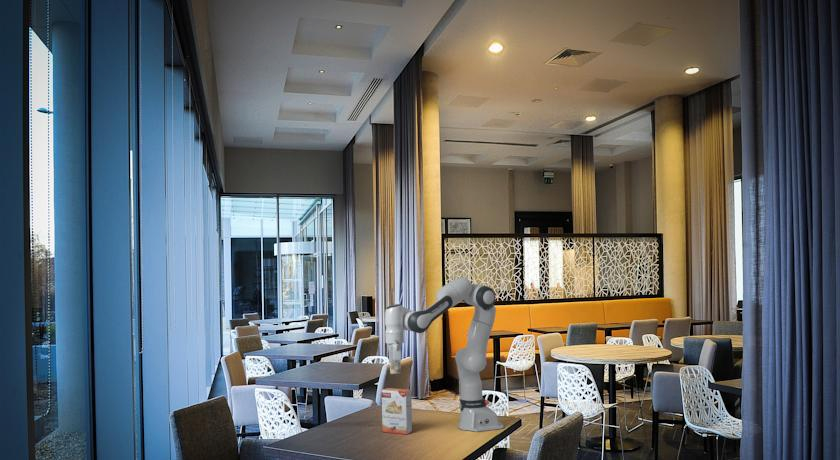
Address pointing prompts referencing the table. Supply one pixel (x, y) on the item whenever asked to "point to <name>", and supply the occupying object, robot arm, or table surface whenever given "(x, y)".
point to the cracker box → (396, 411)
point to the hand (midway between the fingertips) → (395, 368)
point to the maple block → (394, 369)
